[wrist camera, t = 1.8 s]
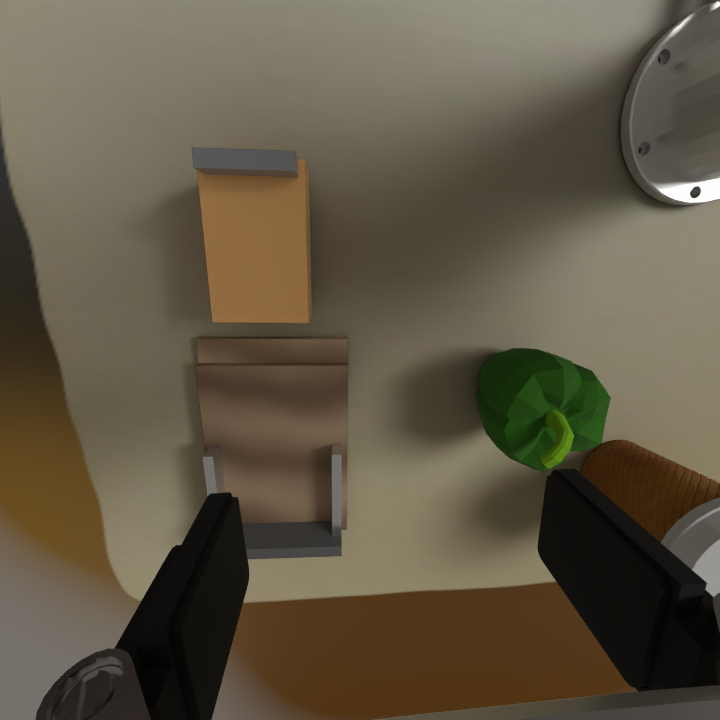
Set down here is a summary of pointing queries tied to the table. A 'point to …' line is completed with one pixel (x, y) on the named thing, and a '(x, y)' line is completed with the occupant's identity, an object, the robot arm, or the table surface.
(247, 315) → the orange block
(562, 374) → the bell pepper
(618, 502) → the disposable coffee cup
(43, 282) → the table surface
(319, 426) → the loading dock
